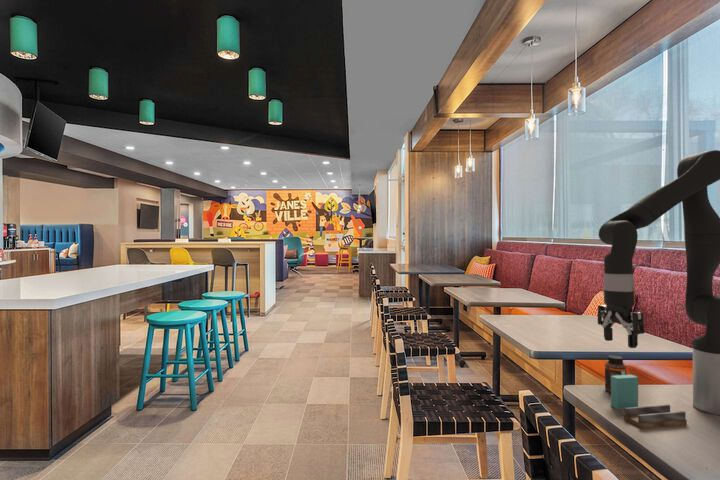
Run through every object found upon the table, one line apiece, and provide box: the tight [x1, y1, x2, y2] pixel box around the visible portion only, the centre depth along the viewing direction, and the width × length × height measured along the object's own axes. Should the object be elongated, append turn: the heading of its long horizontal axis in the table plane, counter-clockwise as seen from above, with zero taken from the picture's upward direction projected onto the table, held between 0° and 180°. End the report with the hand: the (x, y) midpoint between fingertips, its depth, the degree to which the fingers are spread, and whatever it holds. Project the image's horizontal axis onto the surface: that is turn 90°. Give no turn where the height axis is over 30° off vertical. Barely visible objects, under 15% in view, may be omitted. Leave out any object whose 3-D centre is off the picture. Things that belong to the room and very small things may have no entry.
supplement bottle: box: [604, 354, 627, 393], centre depth 129 cm, size 6×6×11 cm
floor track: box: [623, 404, 688, 429], centre depth 108 cm, size 14×6×3 cm, turn 99°
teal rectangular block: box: [610, 374, 639, 410], centre depth 117 cm, size 7×2×9 cm, turn 99°
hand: (620, 343), depth 116 cm, fingers open, 8 cm apart
